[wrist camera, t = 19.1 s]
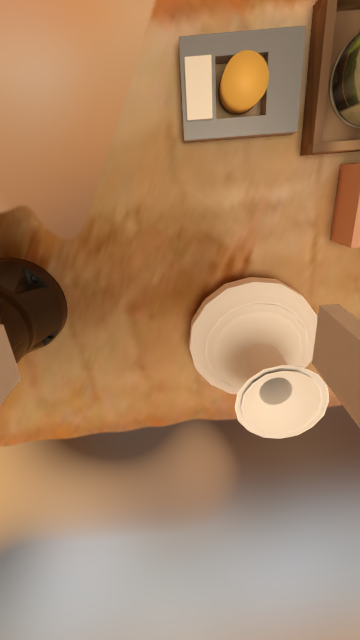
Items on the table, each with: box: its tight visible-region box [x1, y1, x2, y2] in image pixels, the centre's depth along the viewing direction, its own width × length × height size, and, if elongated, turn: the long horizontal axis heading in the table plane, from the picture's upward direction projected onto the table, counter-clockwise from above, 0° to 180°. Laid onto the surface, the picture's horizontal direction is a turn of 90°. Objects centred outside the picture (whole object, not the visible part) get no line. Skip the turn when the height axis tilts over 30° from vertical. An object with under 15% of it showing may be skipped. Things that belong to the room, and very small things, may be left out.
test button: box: [219, 50, 269, 114], centre depth 35 cm, size 5×5×4 cm
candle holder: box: [189, 277, 329, 438], centre depth 42 cm, size 20×20×19 cm
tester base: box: [179, 26, 306, 143], centre depth 36 cm, size 14×10×3 cm
